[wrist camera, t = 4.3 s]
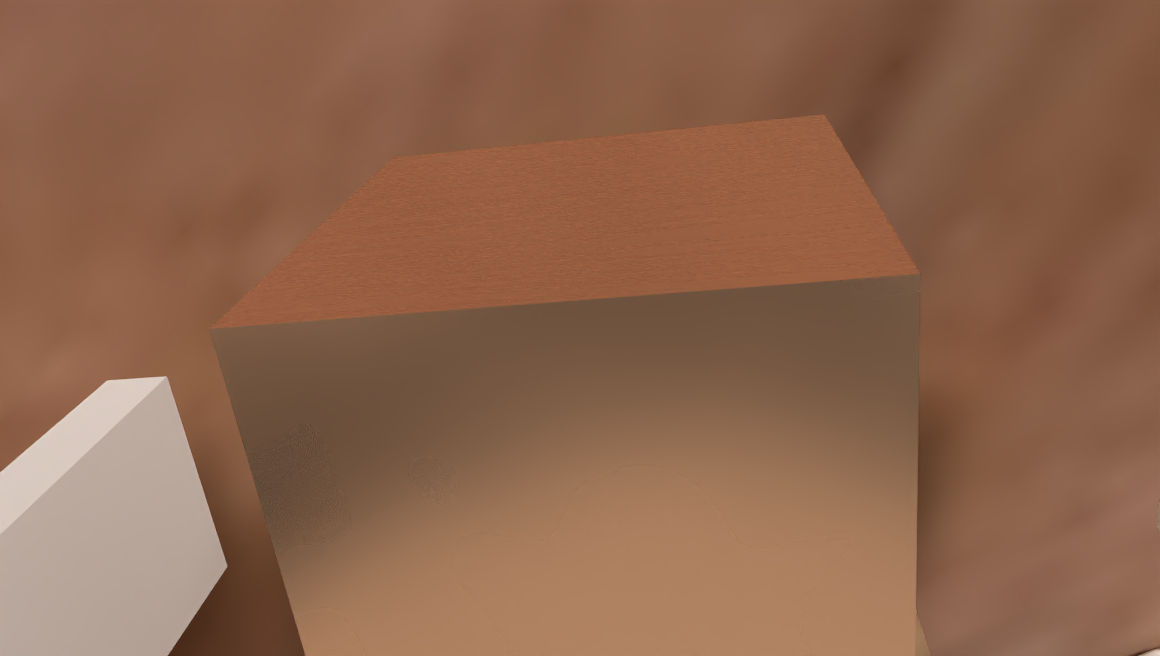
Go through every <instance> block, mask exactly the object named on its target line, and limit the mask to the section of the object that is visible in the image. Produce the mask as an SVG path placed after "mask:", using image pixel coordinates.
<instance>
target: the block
mask: <svg viewBox="0 0 1160 656" xmlns="http://www.w3.org/2000/svg"><path fill="white" fill-rule="evenodd" d="M210 333H211V336H212V340H213V343H214V346H215V350H216V353H217V357H218V360H219V363H220V367H221V370H222V374H223V377H224V380H225V384H226V387H227V391H228V394H229V397H230V401H231V404H232V408H233V411H234V414H235V418H236V421H237V425H238V428H239V431H240V435H241V438H242V442H243V445H244V448H245V452H246V455H247V459H248V462H249V465H250V469H251V472H252V476H253V479H254V482H255V486H256V489H257V493H258V496H259V499H260V503H261V506H262V510H263V513H264V516H265V520H266V523H267V527H268V530H269V533H270V537H271V540H272V544H273V547H274V550H275V554H276V557H277V561H278V564H279V567H280V571H281V574H282V578H283V581H284V584H285V588H286V591H287V595H288V598H289V601H290V605H291V608H292V612H293V615H294V618H295V622H296V625H297V629H298V632H299V635H300V639H301V642H302V646H303V649H304V652H305V656H915V635H916V561H917V486H918V411H919V337H920V273H919V271H918V269H917V268H916V266H915V264H914V263H913V261H912V259H911V258H910V256H909V254H908V253H907V251H906V249H905V248H904V246H903V244H902V243H901V241H900V239H899V238H898V236H897V234H896V233H895V231H894V229H893V228H892V226H891V224H890V223H889V221H888V219H887V218H886V216H885V214H884V213H883V211H882V209H881V208H880V206H879V204H878V203H877V201H876V199H875V198H874V196H873V194H872V193H871V191H870V189H869V188H868V186H867V184H866V183H865V181H864V179H863V178H862V176H861V174H860V173H859V171H858V169H857V168H856V166H855V164H854V163H853V161H852V159H851V158H850V156H849V155H848V153H847V151H846V150H845V148H844V146H843V145H842V143H841V141H840V140H839V138H838V136H837V135H836V133H835V131H834V130H833V128H832V126H831V125H830V123H829V121H828V120H827V118H826V116H825V115H815V116H805V117H795V118H785V119H775V120H765V121H754V122H744V123H734V124H724V125H714V126H704V127H694V128H684V129H674V130H664V131H654V132H644V133H634V134H624V135H614V136H604V137H594V138H584V139H574V140H564V141H554V142H544V143H534V144H524V145H514V146H504V147H494V148H484V149H474V150H464V151H454V152H444V153H434V154H424V155H414V156H404V157H394V158H392V159H391V160H390V161H389V162H388V163H387V164H386V165H385V166H384V167H382V168H381V169H380V170H379V171H378V172H377V173H376V174H375V175H374V176H373V177H372V178H371V179H370V180H369V181H367V182H366V183H365V184H364V185H363V186H362V187H361V188H360V189H359V190H358V191H357V192H356V193H355V194H354V195H352V196H351V197H350V198H349V199H348V200H347V201H346V202H345V203H344V204H343V205H342V206H341V207H340V208H339V209H337V210H336V211H335V212H334V213H333V214H332V215H331V216H330V217H329V218H328V219H327V220H326V221H325V222H324V223H322V224H321V225H320V226H319V227H318V228H317V229H316V230H315V231H314V232H313V233H312V234H311V235H310V236H309V237H307V238H306V239H305V240H304V241H303V242H302V243H301V244H300V245H299V246H298V247H297V248H296V249H295V250H294V251H292V252H291V253H290V254H289V255H288V256H287V257H286V258H285V259H284V260H283V261H282V262H281V263H280V264H279V265H277V266H276V267H275V268H274V269H273V270H272V271H271V272H270V273H269V274H268V275H267V276H266V277H265V278H264V279H262V280H261V281H260V282H259V283H258V284H257V285H256V286H255V287H254V288H253V289H252V290H251V291H250V292H249V293H247V294H246V295H245V296H244V297H243V298H242V299H241V300H240V301H239V302H238V303H237V304H236V305H235V306H234V307H232V308H231V309H230V310H229V311H228V312H227V313H226V314H225V315H224V316H223V317H222V318H221V319H220V320H219V321H217V322H216V323H215V324H214V325H213V326H212V327H211V328H210Z"/></svg>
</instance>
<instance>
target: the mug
mask: <svg viewBox="0 0 1160 656" xmlns="http://www.w3.org/2000/svg"><path fill="white" fill-rule="evenodd" d="M1138 656H1160V648H1159V649H1154V650H1150V651H1148V652H1145V653H1143V654H1140V655H1138Z"/></svg>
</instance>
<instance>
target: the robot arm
mask: <svg viewBox="0 0 1160 656" xmlns="http://www.w3.org/2000/svg"><path fill="white" fill-rule="evenodd" d="M1156 527H1157V528H1158V530H1159V531H1160V500H1159V508H1158V515H1157V523H1156ZM226 568H227V563H226V560H225V557H224V554H223V551H222V548H221V545H220V542H219V538H218V535H217V532H216V529H215V526H214V523H213V520H212V516H211V513H210V510H209V507H208V504H207V501H206V498H205V494H204V491H203V488H202V485H201V482H200V479H199V476H198V472H197V469H196V466H195V463H194V460H193V457H192V454H191V451H190V447H189V444H188V441H187V438H186V435H185V432H184V429H183V425H182V422H181V419H180V416H179V413H178V410H177V407H176V403H175V400H174V397H173V394H172V391H171V388H170V385H169V381H168V378H167V376H165V377H151V378H137V379H123V380H109V381H106V382H105V383H104V384H103V385H102V386H100V387H99V388H98V389H97V390H96V391H95V392H93V393H92V394H91V395H90V396H89V397H88V398H86V399H85V400H84V401H83V402H82V403H81V404H79V405H78V406H77V407H76V408H75V409H74V410H72V411H71V412H70V413H69V414H68V415H67V416H65V417H64V418H63V419H62V420H61V421H60V422H58V423H57V424H56V425H55V426H54V427H53V428H51V429H50V430H49V431H48V432H47V433H46V434H44V435H43V436H42V437H41V438H40V439H39V440H37V441H36V442H35V443H34V444H33V445H32V446H30V447H29V448H28V449H27V450H26V451H25V452H23V453H22V454H21V455H20V456H19V457H18V458H17V459H15V460H14V461H13V462H12V463H11V464H10V465H8V466H7V467H6V468H5V469H4V470H3V471H1V472H0V656H168V655H169V653H170V652H171V650H172V649H173V647H174V646H175V644H176V643H177V641H178V640H179V638H180V637H181V635H182V634H183V632H184V631H185V629H186V628H187V626H188V625H189V623H190V622H191V620H192V619H193V617H194V616H195V614H196V613H197V611H198V610H199V608H200V607H201V605H202V604H203V602H204V601H205V599H206V598H207V596H208V595H209V593H210V592H211V590H212V589H213V587H214V586H215V584H216V583H217V581H218V580H219V578H220V577H221V576H222V574H223V573H224V571H225V570H226Z"/></svg>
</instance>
